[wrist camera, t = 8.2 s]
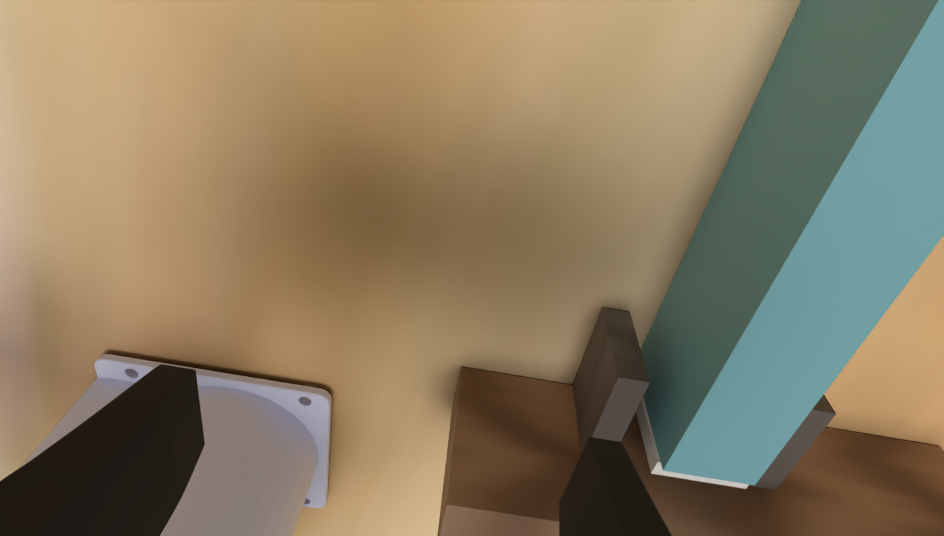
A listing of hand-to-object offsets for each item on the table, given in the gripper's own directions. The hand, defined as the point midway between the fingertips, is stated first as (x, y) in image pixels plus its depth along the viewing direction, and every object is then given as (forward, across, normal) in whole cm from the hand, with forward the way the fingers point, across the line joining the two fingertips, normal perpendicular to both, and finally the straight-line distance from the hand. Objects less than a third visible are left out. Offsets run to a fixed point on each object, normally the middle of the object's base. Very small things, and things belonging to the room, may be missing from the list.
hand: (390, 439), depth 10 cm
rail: (+10, -10, -2) cm, 14 cm away
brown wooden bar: (+9, -12, +6) cm, 16 cm away
